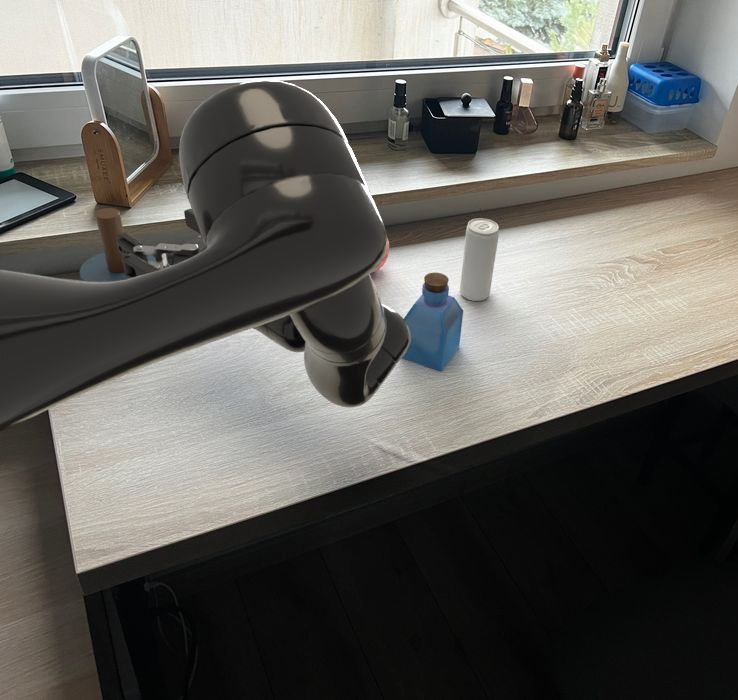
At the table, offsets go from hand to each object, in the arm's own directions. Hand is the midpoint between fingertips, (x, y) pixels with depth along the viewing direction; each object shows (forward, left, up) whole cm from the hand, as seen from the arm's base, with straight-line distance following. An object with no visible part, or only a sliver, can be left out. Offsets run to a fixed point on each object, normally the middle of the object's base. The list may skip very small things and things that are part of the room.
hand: (155, 228), depth 84 cm
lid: (-2, +11, -11) cm, 15 cm away
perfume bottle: (+27, -19, -19) cm, 38 cm away
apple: (+32, +3, -19) cm, 37 cm away
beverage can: (+42, -12, -19) cm, 48 cm away
